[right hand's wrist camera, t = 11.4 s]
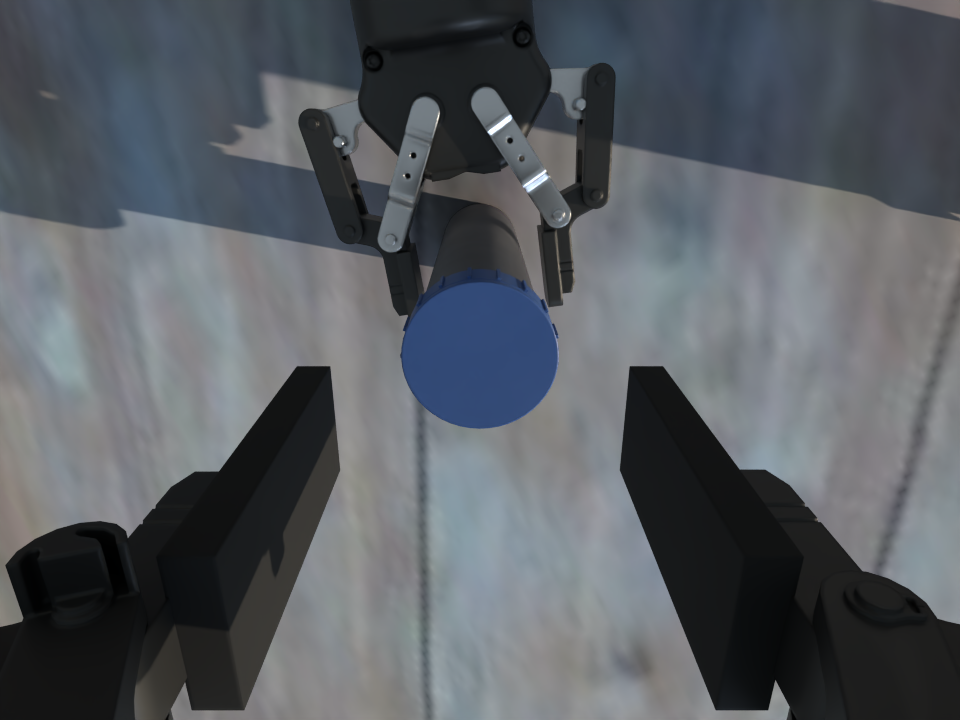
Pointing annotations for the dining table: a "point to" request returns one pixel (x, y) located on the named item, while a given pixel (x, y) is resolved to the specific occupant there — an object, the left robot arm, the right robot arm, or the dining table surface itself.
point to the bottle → (479, 244)
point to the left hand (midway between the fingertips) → (486, 310)
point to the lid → (480, 349)
